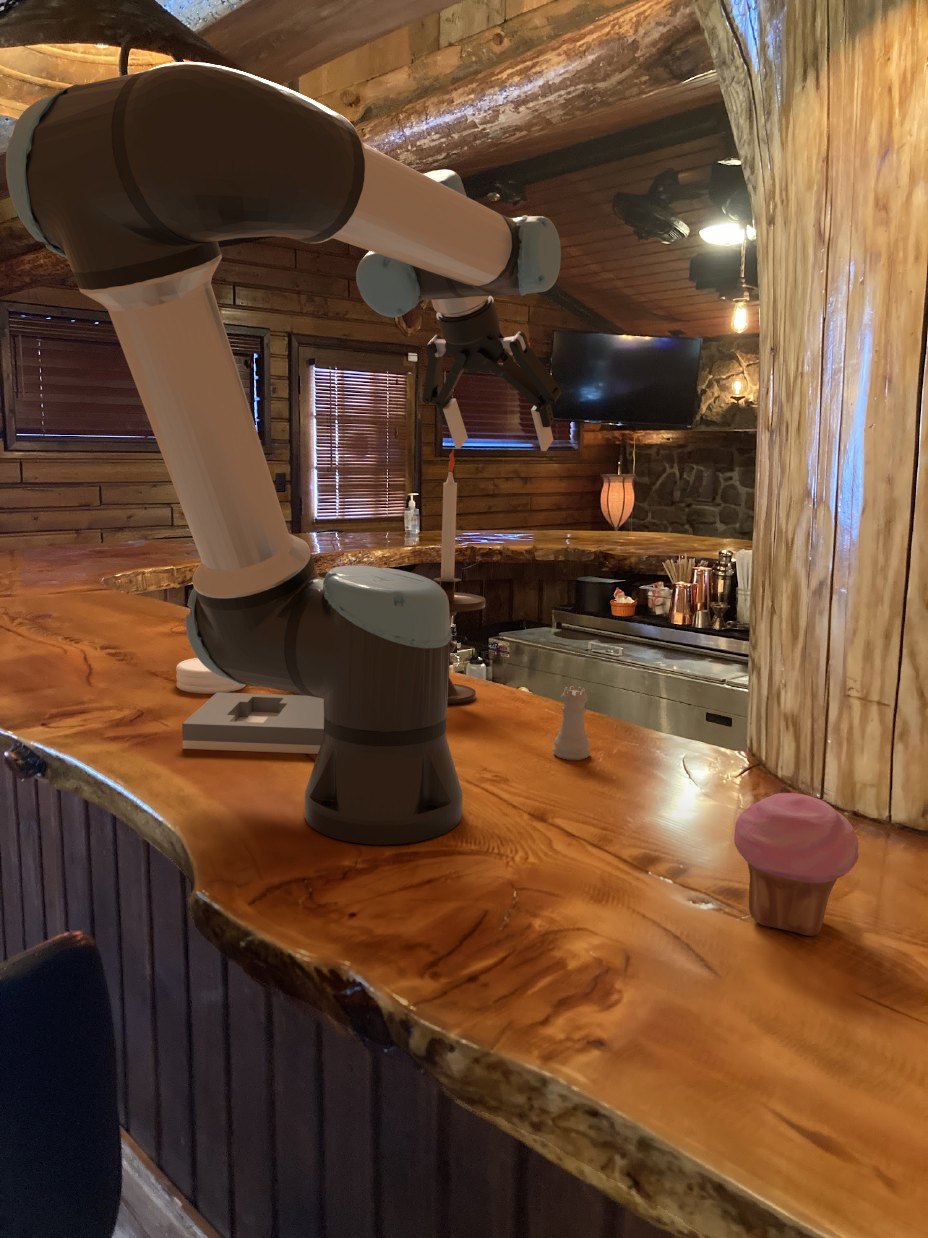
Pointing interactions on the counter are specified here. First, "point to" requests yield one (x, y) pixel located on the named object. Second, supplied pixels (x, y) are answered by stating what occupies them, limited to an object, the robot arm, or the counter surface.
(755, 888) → the cupcake
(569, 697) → the rook chess piece
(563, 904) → the counter surface
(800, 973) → the counter surface
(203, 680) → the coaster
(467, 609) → the candlestick
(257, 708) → the grey panel with recess
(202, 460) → the robot arm
